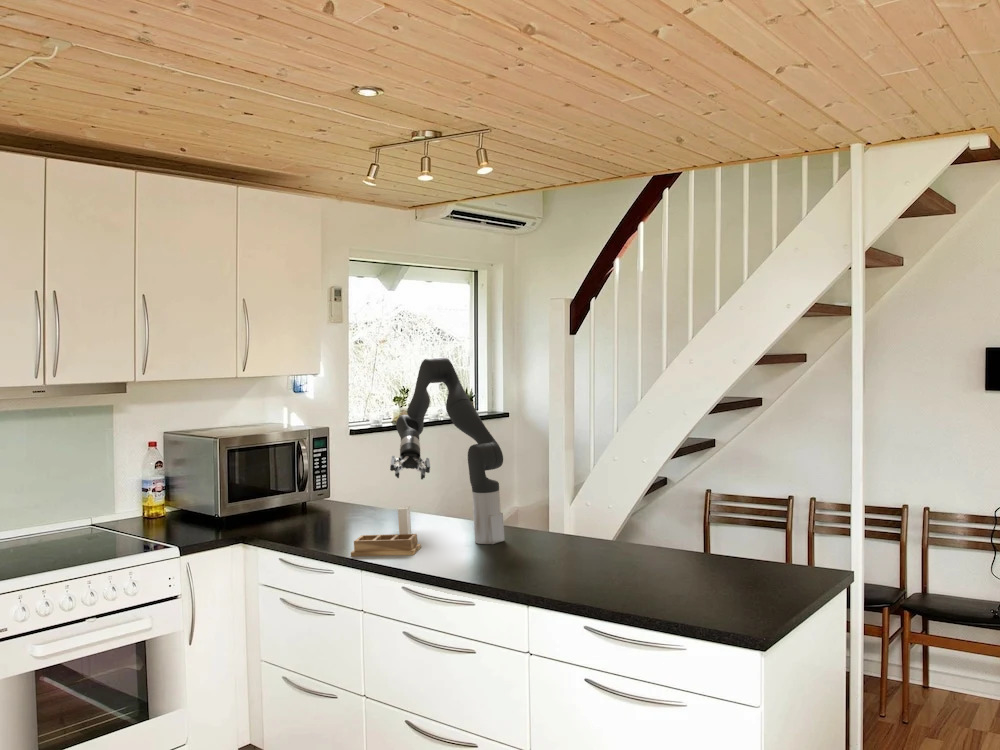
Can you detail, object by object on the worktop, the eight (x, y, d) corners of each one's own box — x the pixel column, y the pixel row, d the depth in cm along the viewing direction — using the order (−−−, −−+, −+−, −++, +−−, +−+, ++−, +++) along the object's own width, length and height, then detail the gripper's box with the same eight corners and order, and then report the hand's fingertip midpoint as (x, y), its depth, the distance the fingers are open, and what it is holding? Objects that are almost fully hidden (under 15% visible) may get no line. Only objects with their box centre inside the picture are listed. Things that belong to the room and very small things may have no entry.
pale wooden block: (403, 541, 297) (401, 506, 297) (411, 540, 297) (409, 506, 297) (399, 544, 293) (397, 509, 293) (408, 544, 293) (406, 509, 292)
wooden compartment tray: (360, 548, 290) (359, 534, 290) (421, 547, 287) (420, 533, 287) (350, 556, 280) (350, 541, 280) (413, 554, 277) (412, 540, 277)
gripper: (391, 440, 317) (390, 467, 303) (430, 443, 319) (431, 469, 305) (390, 457, 321) (389, 484, 307) (428, 459, 323) (429, 486, 309)
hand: (410, 476), depth 306 cm, fingers open, 8 cm apart
